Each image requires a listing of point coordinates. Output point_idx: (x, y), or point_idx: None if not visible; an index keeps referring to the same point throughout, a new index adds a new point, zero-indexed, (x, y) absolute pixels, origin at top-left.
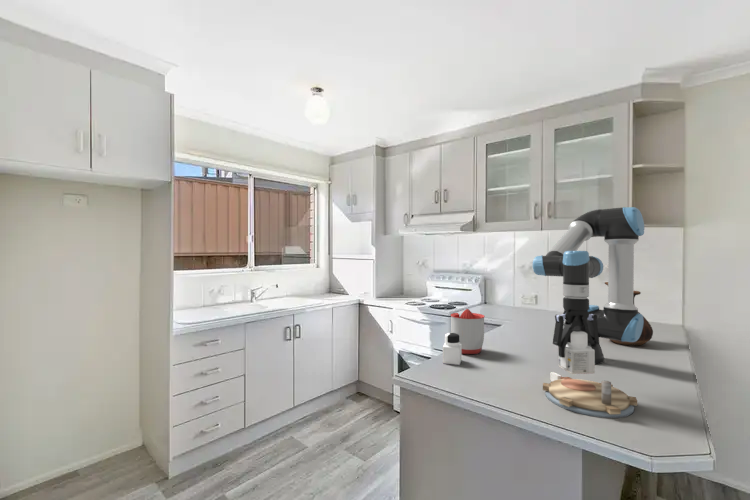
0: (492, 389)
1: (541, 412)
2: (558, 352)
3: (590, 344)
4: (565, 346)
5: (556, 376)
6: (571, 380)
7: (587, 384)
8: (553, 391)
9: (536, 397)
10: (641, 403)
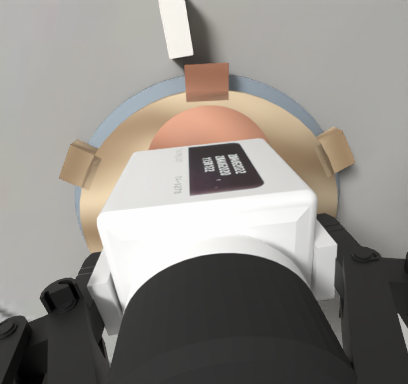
0: None
1: (34, 285)
2: (113, 189)
3: (341, 307)
4: (103, 344)
5: (168, 48)
6: (209, 122)
7: None
8: (84, 230)
9: (41, 192)
10: (358, 225)
